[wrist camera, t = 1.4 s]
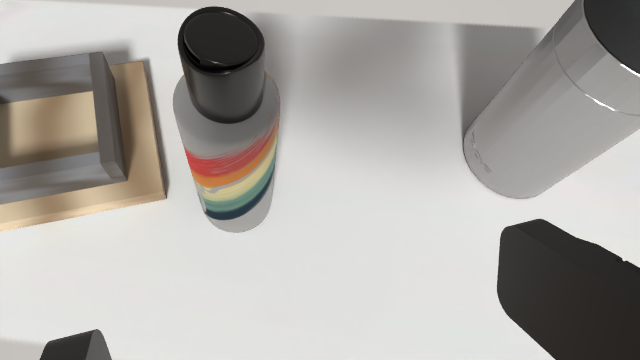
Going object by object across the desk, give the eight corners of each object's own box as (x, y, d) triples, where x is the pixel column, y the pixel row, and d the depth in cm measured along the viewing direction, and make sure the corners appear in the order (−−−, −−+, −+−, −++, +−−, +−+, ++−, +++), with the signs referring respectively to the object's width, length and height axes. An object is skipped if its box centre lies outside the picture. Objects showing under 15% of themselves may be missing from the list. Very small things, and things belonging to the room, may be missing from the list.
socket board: (146, 71, 41) (132, 33, 37) (166, 198, 37) (154, 172, 32) (-39, 96, 38) (-78, 57, 33) (-42, 240, 33) (-89, 218, 29)
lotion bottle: (188, 193, 37) (126, 13, 19) (246, 159, 39) (240, -32, 21) (226, 247, 36) (197, 109, 18) (284, 210, 38) (312, 50, 20)
